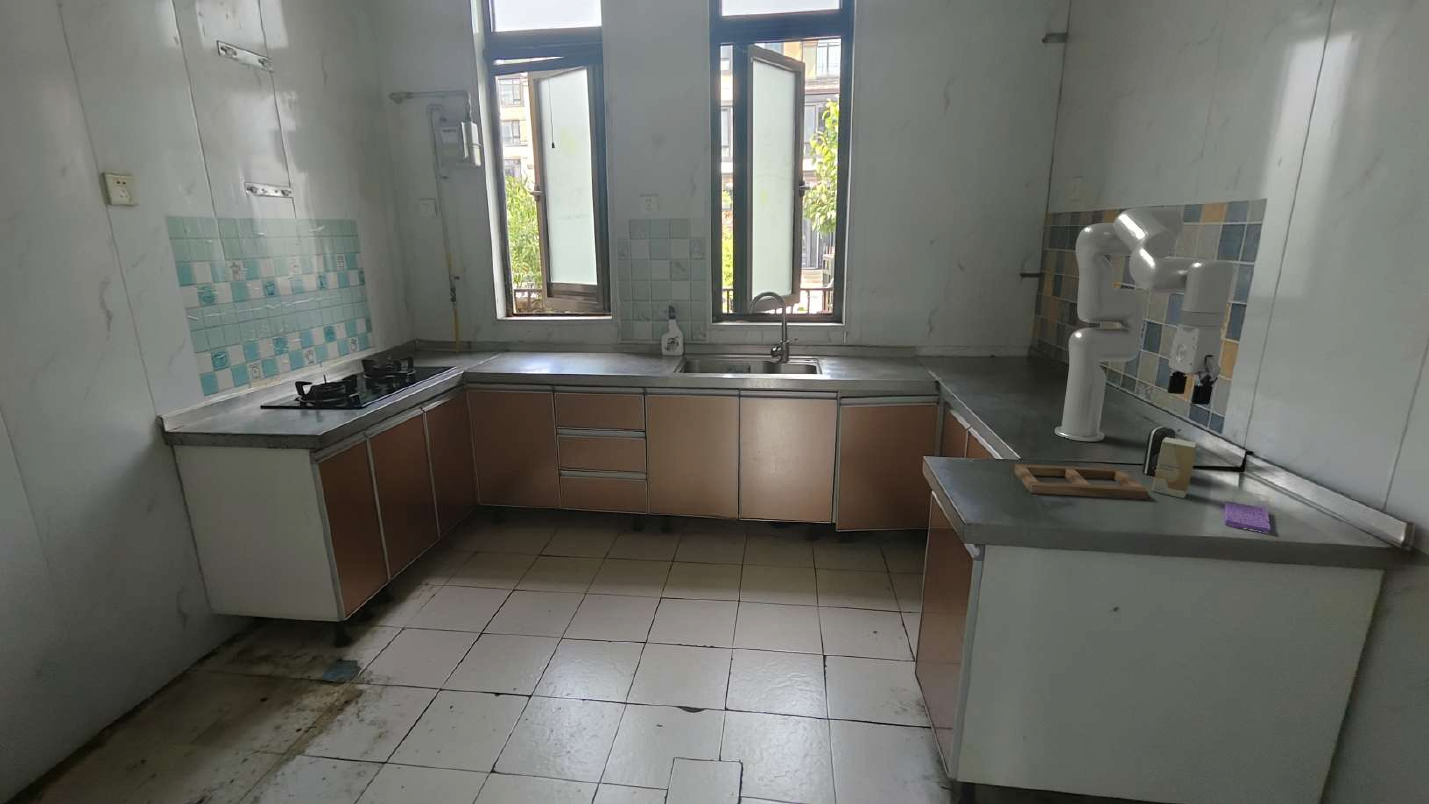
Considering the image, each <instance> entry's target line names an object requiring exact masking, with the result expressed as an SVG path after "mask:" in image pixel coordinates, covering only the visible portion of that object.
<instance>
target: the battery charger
mask: <svg viewBox="0 0 1429 804" xmlns="http://www.w3.org/2000/svg"><path fill="white" fill-rule="evenodd" d="M1165 437H1168V438H1173V439H1176V431H1175V429H1173V428H1169V427H1166V426H1156V427H1154V428H1151V429H1150V430H1149V433H1148V436H1147V441H1146V446H1145V453H1144V460H1143V465H1142V466H1143V467H1142V474H1145V475H1150V476H1155V474H1156V469H1157V464H1158V459H1159V454H1160V450H1161V445H1162V441H1163V439H1164V438H1165Z"/></svg>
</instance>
